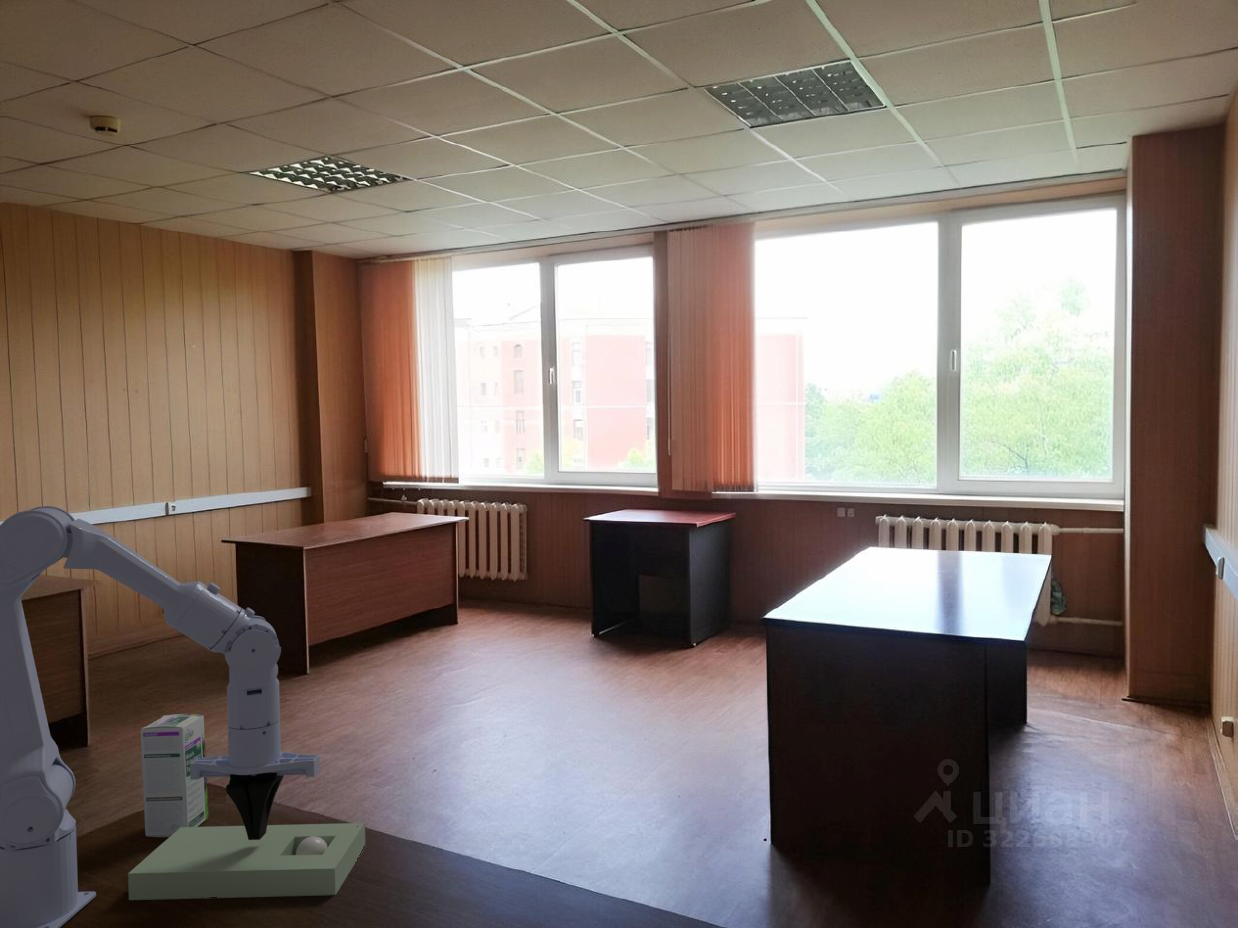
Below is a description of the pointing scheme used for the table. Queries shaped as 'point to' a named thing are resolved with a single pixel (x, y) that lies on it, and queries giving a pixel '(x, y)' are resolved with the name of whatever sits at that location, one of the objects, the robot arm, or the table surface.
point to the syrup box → (173, 774)
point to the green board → (247, 863)
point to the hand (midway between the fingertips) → (257, 836)
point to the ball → (312, 846)
